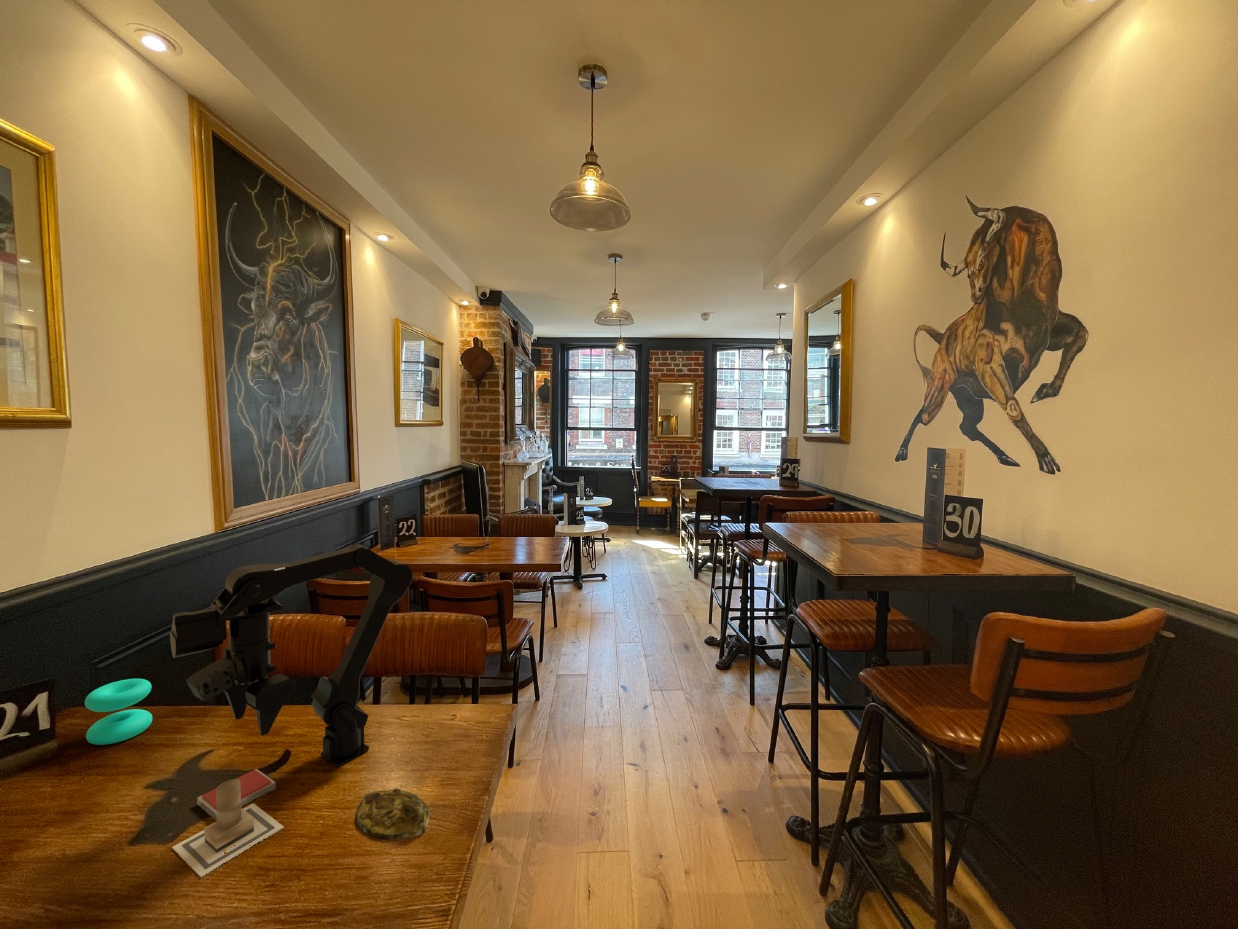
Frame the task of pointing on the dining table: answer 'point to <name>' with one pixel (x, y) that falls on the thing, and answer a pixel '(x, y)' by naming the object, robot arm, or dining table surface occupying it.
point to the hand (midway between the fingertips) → (251, 726)
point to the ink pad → (251, 789)
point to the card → (208, 859)
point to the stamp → (228, 817)
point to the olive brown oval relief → (392, 814)
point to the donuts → (121, 722)
